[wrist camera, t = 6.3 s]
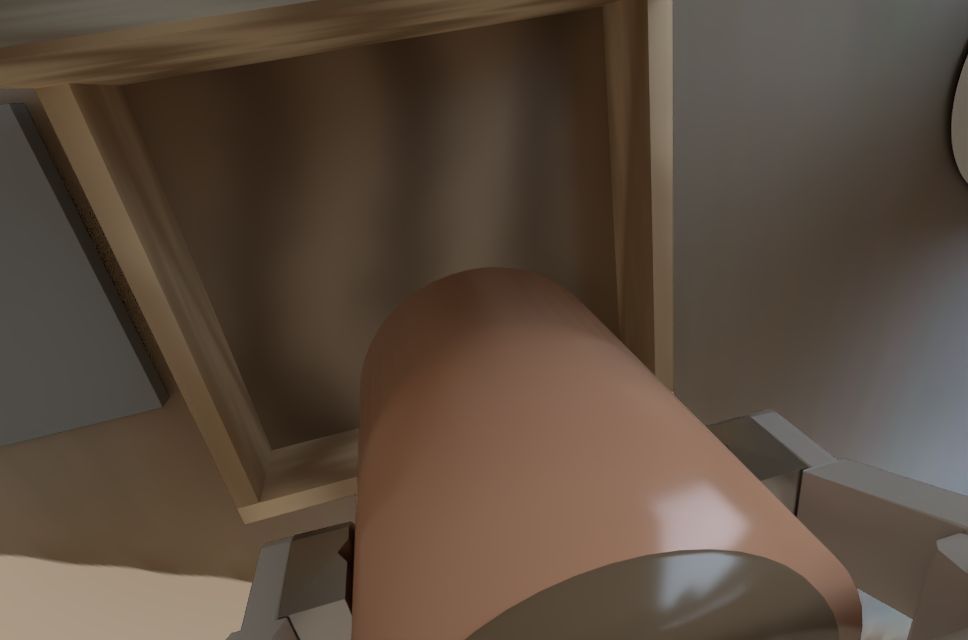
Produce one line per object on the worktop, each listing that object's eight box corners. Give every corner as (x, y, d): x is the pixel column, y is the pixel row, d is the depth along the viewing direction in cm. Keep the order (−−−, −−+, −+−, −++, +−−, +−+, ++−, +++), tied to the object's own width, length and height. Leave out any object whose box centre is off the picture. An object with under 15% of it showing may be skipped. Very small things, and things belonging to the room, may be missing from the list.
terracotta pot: (596, 241, 12) (917, 454, 5) (610, 451, 15) (833, 784, 8) (328, 300, 12) (257, 645, 4) (393, 509, 14) (417, 935, 7)
